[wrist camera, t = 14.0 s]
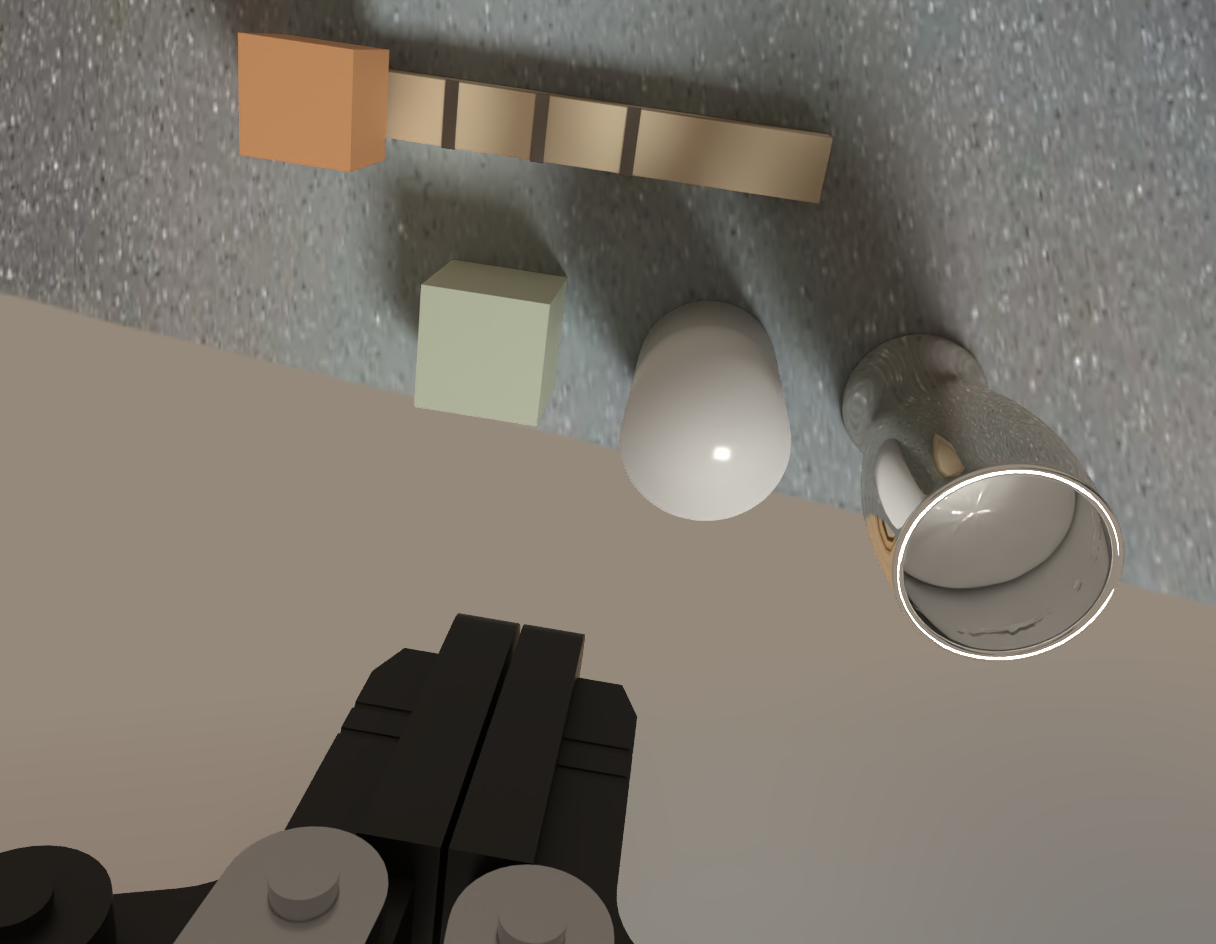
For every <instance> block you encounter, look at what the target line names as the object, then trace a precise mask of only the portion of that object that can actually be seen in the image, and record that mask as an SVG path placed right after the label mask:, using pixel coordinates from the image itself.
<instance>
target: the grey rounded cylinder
mask: <svg viewBox="0 0 1216 944" xmlns="http://www.w3.org/2000/svg"><path fill="white" fill-rule="evenodd" d="M790 450H791V433H790V426H789V421H788V416H787V410H786V405H785V400H784V395H783V390H782V385H781V380H780V375H779V370H778V365H777V360H776V355H775V351H774V347H773V344H772V342H771V340H770V337H769V335H768V334H767V332H766V331H765V329H764V328H763V327H762V325H761V324H760V323H759V322H758V321H757V320H756V319H755V318H754V317H753V316H752V315H750V314H749V313H747V312H746V311H744V310H742V309H741V308H739V307H737V306H734V305H731V304H729V303H724V302H720V301H710V300H708V301H696V302H691V303H687V304H684V305H681V306H679V307H677V308H675V309H673V310H671V311H670V312H668V313H666V314H665V315H664V316H663V317H661V318H660V319H659V320H658V321H657V322H656V323H655V324H654V325H653V327H652V328H651V329H650V331H649V332H648V334H647V335H646V337H645V339H644V341H643V344H642V347H641V349H640V353H639V357H638V361H637V365H636V369H635V373H634V377H633V381H632V385H631V389H630V393H629V397H628V401H627V405H626V409H625V413H624V418H623V422H622V426H621V431H620V452H621V456H622V461H623V464H624V467H625V470H626V472H627V474H628V476H629V478H630V480H631V481H632V483H633V484H634V485H635V487H636V489H637V490H638V491H639V492H640V493H641V494H642V495H643V496H644V497H645V498H646V499H647V500H648V501H650V502H651V503H652V504H654V505H655V506H657V507H658V508H660V509H662V510H664V511H666V512H668V513H670V514H672V515H675V516H678V517H681V518H686V519H690V520H699V521H713V520H720V519H726V518H730V517H733V516H736V515H738V514H741V513H744V512H746V511H747V510H749V509H751V508H753V507H754V506H756V505H757V504H758V503H760V502H761V501H763V500H764V499H765V498H766V497H767V496H768V495H769V494H770V493H771V492H772V491H773V489H774V488H775V487H776V486H777V484H778V483H779V481H780V480H781V478H782V476H783V474H784V472H785V470H786V467H787V464H788V461H789V457H790Z"/></svg>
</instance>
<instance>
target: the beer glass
mask: <svg viewBox="0 0 1216 944" xmlns="http://www.w3.org/2000/svg"><path fill="white" fill-rule="evenodd" d="M842 416H843V421H844V425H845V428H846V430H847V432H848V435H849V436H850V438H851V440H852V442H853V443H854V444H855V446H856V447H857V448H858V449H859V450H860V451H861V452H862V453H863V459H862V471H861V500H862V510H863V515H864V519H865V523H866V527H867V531H868V535H869V538H870V541H871V544H872V547H873V549H874V552H875V554H876V557H877V559H878V562H879V564H880V566H881V568H882V570H883V572H884V574H885V576H886V578H887V580H888V582H889V584H890V586H891V588H892V590H893V592H894V593H895V597H896V599H897V602H898V604H899V607H900V609H901V611H902V612H903V614H904V616H905V617H906V619H907V620H908V621H909V623H910V624H911V625H912V626H913V627H914V628H915V629H916V630H917V631H918V632H919V633H920V634H921V635H922V636H923V637H924V638H926V639H927V640H928V641H930V642H931V643H933V644H934V645H936V646H938V647H940V648H942V649H944V650H946V651H948V652H950V653H953V654H956V655H959V656H962V657H966V658H970V659H976V660H984V661H1011V660H1019V659H1024V658H1029V657H1033V656H1036V655H1040V654H1043V653H1045V652H1048V651H1051V650H1053V649H1055V648H1057V647H1059V646H1061V645H1063V644H1065V643H1067V642H1069V641H1070V640H1072V639H1073V638H1075V637H1076V636H1078V635H1079V634H1080V633H1082V632H1083V631H1084V630H1086V629H1087V628H1088V627H1089V626H1090V625H1091V624H1092V623H1093V622H1094V621H1095V620H1096V619H1097V618H1098V617H1099V616H1100V614H1101V613H1102V612H1103V611H1104V610H1105V608H1106V607H1107V605H1108V604H1109V602H1110V601H1111V599H1112V597H1113V595H1114V593H1115V591H1116V589H1117V587H1118V584H1119V582H1120V578H1121V575H1122V571H1123V565H1124V541H1123V536H1122V532H1121V528H1120V525H1119V523H1118V520H1117V518H1116V516H1115V514H1114V512H1113V511H1112V509H1111V508H1110V506H1109V505H1108V503H1107V502H1106V501H1105V500H1104V498H1103V497H1102V496H1101V495H1100V493H1099V491H1098V490H1097V488H1096V486H1095V484H1094V483H1093V481H1092V480H1091V478H1090V477H1089V475H1088V473H1087V472H1086V470H1085V469H1084V467H1083V466H1082V464H1081V463H1080V462H1079V460H1078V459H1077V458H1076V456H1075V455H1074V454H1073V453H1072V451H1071V450H1070V449H1069V447H1068V446H1067V445H1066V444H1065V443H1064V441H1063V440H1062V439H1061V438H1060V437H1059V436H1058V435H1057V434H1056V433H1055V432H1054V431H1053V430H1052V429H1051V428H1050V427H1049V426H1048V425H1047V424H1046V423H1044V422H1043V421H1042V420H1041V419H1040V418H1039V417H1037V416H1036V415H1035V414H1033V413H1032V412H1030V411H1029V410H1027V409H1026V408H1024V407H1022V406H1021V405H1019V404H1018V403H1016V402H1015V401H1013V400H1011V399H1009V398H1007V397H1005V396H1003V395H1001V394H999V393H997V392H995V391H993V390H991V389H989V388H988V384H987V381H986V378H985V375H984V373H983V371H982V369H981V367H980V365H979V364H978V362H977V361H976V360H975V358H974V357H973V356H972V355H971V354H970V353H969V352H968V351H967V350H965V349H964V348H963V347H961V346H960V345H958V344H956V343H955V342H953V341H950V340H948V339H945V338H942V337H939V336H934V335H928V334H912V335H906V336H901V337H897V338H894V339H891V340H889V341H887V342H885V343H883V344H881V345H879V346H877V347H876V348H874V349H873V350H871V351H870V352H869V353H868V354H867V355H865V356H864V357H863V358H862V359H861V361H860V362H859V363H858V364H857V365H856V367H855V368H854V370H853V371H852V373H851V374H850V376H849V378H848V381H847V383H846V386H845V389H844V393H843V398H842Z"/></svg>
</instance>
